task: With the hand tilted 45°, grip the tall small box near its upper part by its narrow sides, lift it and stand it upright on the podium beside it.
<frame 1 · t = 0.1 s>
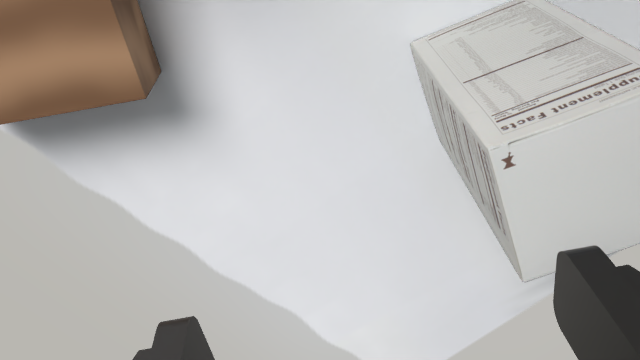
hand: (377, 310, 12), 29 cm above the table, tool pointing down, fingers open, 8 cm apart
supplement box: (483, 72, 40), on the table
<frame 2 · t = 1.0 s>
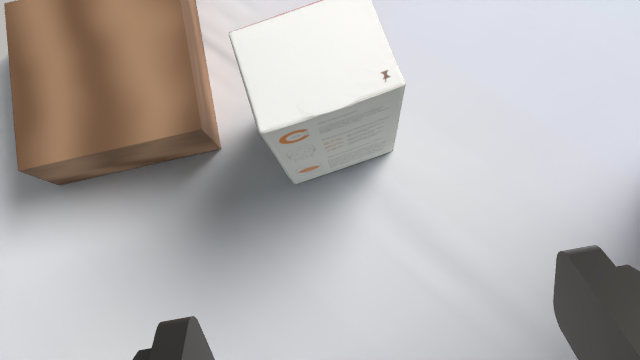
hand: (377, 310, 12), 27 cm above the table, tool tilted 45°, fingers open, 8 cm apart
podium: (129, 90, 43), on the table
small box: (330, 131, 41), on the table
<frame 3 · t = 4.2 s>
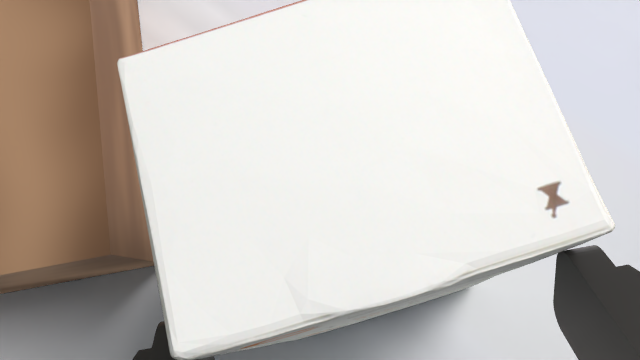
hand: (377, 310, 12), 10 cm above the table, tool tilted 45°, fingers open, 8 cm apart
podium: (14, 149, 25), on the table
small box: (361, 239, 23), on the table, touching gripper
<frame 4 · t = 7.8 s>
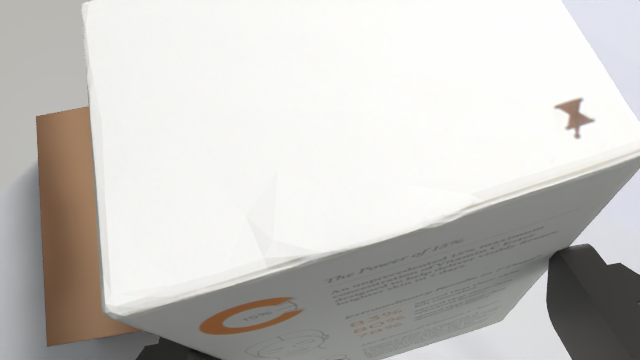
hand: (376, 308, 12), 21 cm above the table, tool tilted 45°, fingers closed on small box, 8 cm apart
podium: (185, 218, 34), on the table
small box: (370, 273, 20), point 12 cm above the table, touching gripper
when the fingers open (15 cm above the table, at t = 10.2 s): small box stays where it is, resting on podium.
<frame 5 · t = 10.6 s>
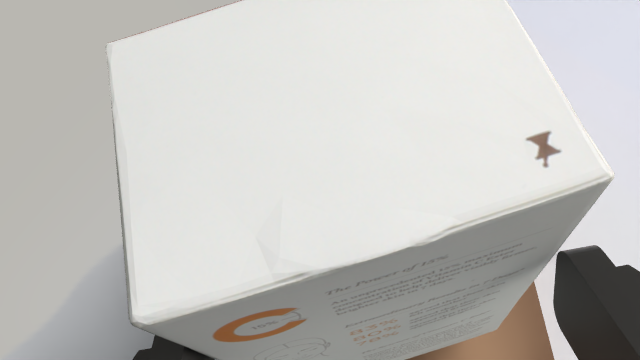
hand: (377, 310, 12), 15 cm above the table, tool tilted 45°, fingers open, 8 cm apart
podium: (366, 277, 27), on the table
small box: (370, 284, 21), point 6 cm above the table, touching gripper, podium
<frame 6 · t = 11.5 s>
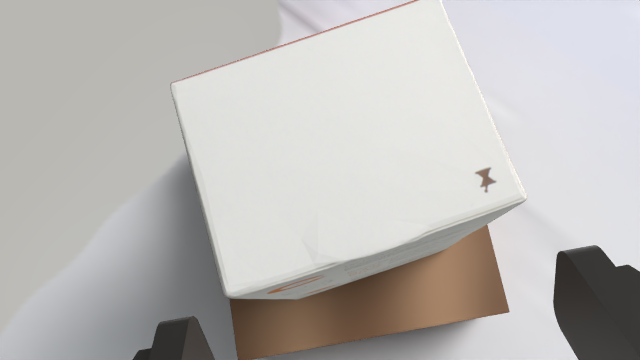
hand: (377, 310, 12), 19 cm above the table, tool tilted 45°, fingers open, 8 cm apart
podium: (348, 218, 31), on the table
small box: (350, 214, 27), point 5 cm above the table, touching podium
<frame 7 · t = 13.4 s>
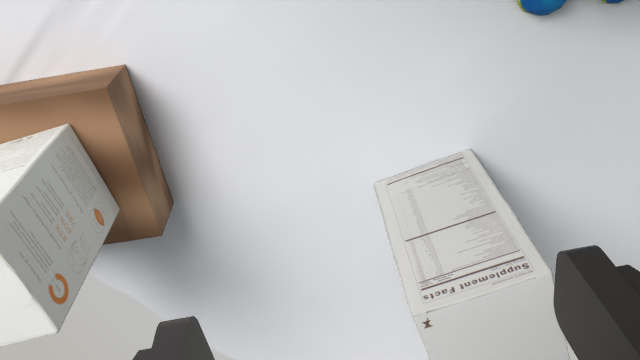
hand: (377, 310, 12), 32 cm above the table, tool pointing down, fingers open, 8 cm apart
podium: (76, 150, 45), on the table
small box: (60, 177, 41), point 5 cm above the table, touching podium
supplement box: (434, 203, 50), on the table
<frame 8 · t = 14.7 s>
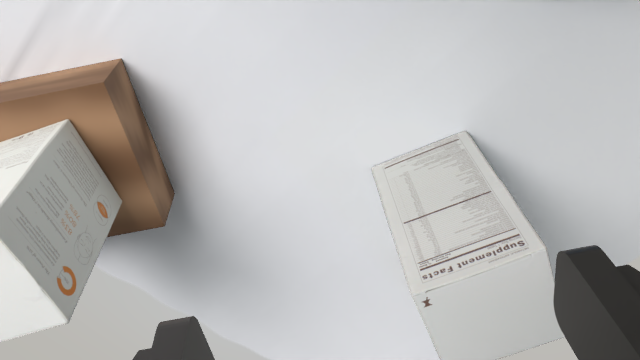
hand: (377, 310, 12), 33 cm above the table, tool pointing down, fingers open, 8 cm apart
podium: (76, 145, 46), on the table
small box: (62, 172, 41), point 5 cm above the table, touching podium
supplement box: (431, 185, 50), on the table
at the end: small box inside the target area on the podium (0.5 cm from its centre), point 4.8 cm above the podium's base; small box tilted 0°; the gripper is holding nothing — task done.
